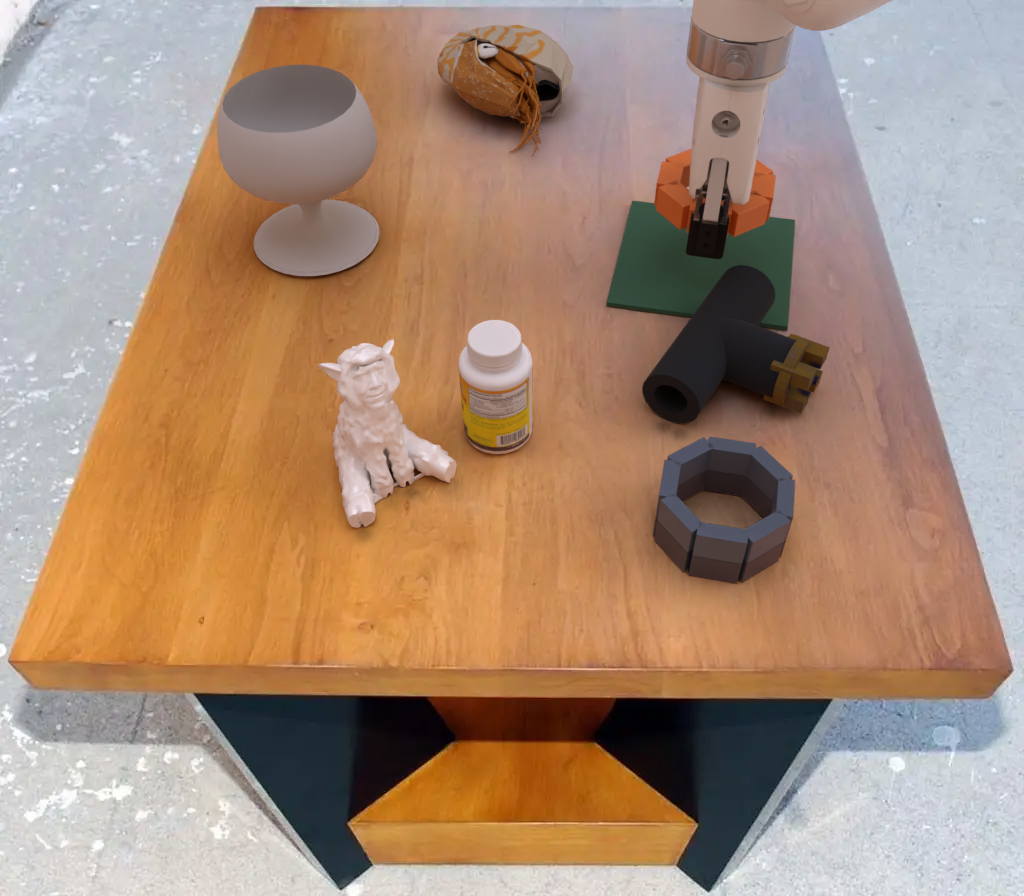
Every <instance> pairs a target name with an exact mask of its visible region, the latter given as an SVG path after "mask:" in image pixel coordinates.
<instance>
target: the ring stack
mask: <svg viewBox="0 0 1024 896" xmlns="http://www.w3.org/2000/svg"><path fill="white" fill-rule="evenodd" d="M793 477H794V475H793V474H792V473H791V472H790V471H789V470H788V469H787V468H786V467H785V466H783V465H782V464H781V463H780V461H778V460H777V459H776V458H775V457H773V456H772V454H771V453H770V452H768V451H767V450H766V449H765V448H764V447H763V446H762V445H759V446H758V447H757V444H756V442H750V441H749V442H748V441H743V440H736V439H729V438H723V437H717V436H709V437H708V439H707V438H706V437H702V438H699V439H698V440H696V441H694V442H692V443H690V444H688V445H686V446H683V447H682V448H680V449H678V450H677V451H674V452H673V453H671V454H669V455H667V458H666V459H664V461H663V467H662V473H661V480H660V486H659V492H658V498H657V505H656V511H655V516H654V524H653V531H652V537H654V542H655V543H656V544H657V546H659V547H660V549H661V550H662V551H663V552H664V553H665V554H666V555H667V556H668V558H669V559H671V561H672V562H673V563H674V564H675V565H676V567H678V569H679V570H680V571H681V572H682V573H685V572H687V571H688V576H690V577H698V578H703V579H708V580H714V581H720V582H724V583H725V582H726V583H731V584H737V583H738V580H739V581H740V582H741V583H744V582H746V581H747V580H749V579H750V578H752V577H754V576H755V575H757V574H759V573H761V572H762V571H765V570H766V569H767V568H769V567H771V566H772V565H774V564H776V563H778V562H779V559H780V558H781V557H782V555H783V551H784V548H785V545H786V542H787V539H788V535H789V533H790V529H791V525H792V523H793V520H794V516H795V515H794V514H795V512H794V511H795V495H796V494H795V491H796V480H795V479H793ZM703 491H707V492H713V493H718V494H725V495H731V496H738V497H741V498H742V499H743V500H744V501H745V502H746V503H747V504H748V505H749V506H750V507H751V508H752V509H754V511H755V512H756V513H758V514H759V516H760V517H761V519H759V520H758V521H756V522H755V523H753V524H751V525H749V526H748V527H746V528H740V527H734V526H727V525H722V524H716V523H709V522H704V521H701V519H700V518H699V517H698V516H697V515H696V514H695V513H694V512H693V510H691V509H690V507H688V506H687V505H686V504H685V503H684V501H686V500H688V499H689V498H691V497H694V496H695V495H697V494H699V493H702V492H703Z"/></svg>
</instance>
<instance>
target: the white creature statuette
mask: <svg viewBox="0 0 1024 896" xmlns="http://www.w3.org/2000/svg"><path fill="white" fill-rule="evenodd" d="M394 345H395V340H394V338H392V339H389V340H388V341H386V342H385V343H384V344H383V346H382V347H380V346H377V345H375V344H374V343H370V342H361V343H359V344H358V345H352V346H351V348H347V349H344V351H342V353H341V354H340V355H338V357H337V360H336V363H335V362H321V363H318V364H317V367H318V368H319V369H320V370H321V371H323V373H325V374H326V375H327V377H329V378H331V379H332V380H333V381H336V393H337V394H338V395H339V397H340V398H341V399H343V400H342V402H341V403H340V405H339V408H338V412H339V413H338V414H337V416H336V419H337V423H336V425H335V429H334V431H333V432H332V440H333V443H332V447H333V450H334V451H333V457H334V460H335V466H336V467H337V468H338V471H337V472H338V482H339V485H340V487H341V490H342V492H341V493H340V495H341V497H342V508H343V509H344V513H345V517H346V520H347V523H348V524H349V526H350V527H352V528H355V529H358V528H361V527H362V526H363V527H365V528H366V527H368V526H369V525H371V524H373V523H374V522H375V521H376V517H377V509H376V506H375V504H377V503H378V502H380V501H381V500H382V499H386V498H387V497H388V495H389V494H390V495H393V494H394V488H395V487H397V486H400V487H401V488H407V487H406V486H407V482H408V484H409V485H410V486H411V485H413V483H415V481H417V480H419V479H421V478H423V477H425V476H428V477H429V476H432V477H434V478H437V479H438V480H440V481H441V482H442V481H443V482H446V483H448V484H450V483H451V479H454V478H455V475H456V472H457V468H458V467H457V466H458V465H457V461H456V460H455V458H453V457H452V456H450V455H449V453H448V451H447V450H445V449H443V448H442V446H441V445H440V444H434V443H432V442H431V441H429V440H427V439H426V438H422V437H419V436H417V435H416V433H415V432H414V431H412V430H410V429H409V428H408V425H407V424H405V423H404V422H403V419H404V418H403V417H404V416H403V414H402V412H400V409H399V406H398V404H396V403H395V400H394V393H395V391H396V390H397V389H398V387H399V385H400V383H401V378H400V376H399V374H398V372H397V370H396V368H395V367H396V366H395V359H394V356H393V355H392V354H391V353H392V349H393V347H394ZM390 470H391V472H392V474H391V472H390ZM415 470H417V471H418V472H420V473H419V474H417V475H415ZM392 476H393V477H392ZM393 478H394V479H393ZM394 480H395V482H394Z"/></svg>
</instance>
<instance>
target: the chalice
mask: <svg viewBox="0 0 1024 896" xmlns="http://www.w3.org/2000/svg"><path fill="white" fill-rule="evenodd" d="M216 122H217V123H216V137H217V148H218V156H219V160H220V162H221V165H222V167H223V169H224V171H225V173H226V174H227V176H228V177H229V178H230V180H231V181H233V183H234V184H236V186H237V187H239V188H240V189H242V191H243V190H244V192H246V193H248V194H249V195H251V196H253V197H254V198H258V199H261V200H264V201H267V202H273V203H277V204H282V205H289V206H287V207H283V208H282V209H280V210H278V211H276V212H274V213H273V214H271V215H270V216H269V217H268V218H267V219H266V220H264V221H263V222H262V224H260V226H259V227H258V229H257V230H256V231H255V235H254V238H253V249H254V252H255V254H256V257H257V258H258V259H259V260H260V261H261V262H262V264H264V265H265V266H266V267H268V268H270V269H271V270H274V271H276V272H279V273H282V274H285V275H291V276H295V277H317V276H325V275H331V274H333V273H338V272H341V271H344V270H347V269H348V268H351V267H353V266H356V265H357V264H358V263H360V262H361V261H363V260H364V259H366V258H367V257H368V256H369V255H370V254H371V253H372V252H373V251H374V249H375V248H376V246H377V245H378V243H379V238H380V234H381V232H380V225H379V224H378V222H377V219H376V218H375V216H373V215H372V214H371V212H369V211H368V210H366V209H364V208H363V207H361V206H359V205H357V204H354V203H351V202H348V201H344V200H337V199H330V198H334V197H336V196H338V195H340V194H342V193H343V192H345V191H347V190H349V189H351V188H352V187H354V186H355V185H356V184H357V183H358V182H360V180H362V179H363V178H364V176H365V175H366V174H367V172H368V171H369V169H370V168H371V166H372V164H373V163H374V160H375V157H376V154H377V149H378V133H377V129H376V125H375V122H374V119H373V114H372V112H371V110H370V107H369V105H368V102H367V101H366V98H365V96H364V95H363V94H362V92H361V91H360V89H359V88H358V86H357V85H356V84H355V83H354V82H353V80H352V79H350V77H349V76H347V75H345V74H343V73H342V72H340V71H338V70H336V69H333V68H330V67H326V66H321V65H315V64H287V65H279V66H274V67H273V66H272V67H270V68H266V69H262V70H258V71H257V72H254V73H251V74H249V75H247V76H246V77H243V78H242V79H240V80H238V81H237V82H236V83H235V84H233V85H232V86H231V87H230V88H229V89H228V90H227V92H226V93H225V94H224V96H223V99H222V101H221V105H220V108H219V111H218V115H217V121H216Z"/></svg>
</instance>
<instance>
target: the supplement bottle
mask: <svg viewBox="0 0 1024 896" xmlns="http://www.w3.org/2000/svg"><path fill="white" fill-rule="evenodd" d="M466 341H467V343H466V344H467V345H466V346H464V348H463V349H462V351H461V352H460V354H459V357H458V364H457V365H458V377H459V389H460V399H461V401H460V402H461V414H462V426H463V432H464V435H465V437H466V440H467V441H468V442H469V443H470V445H472V446H473V447H474V448H475V449H477V450H479V451H481V452H483V453H487V454H490V455H505V454H509V453H512V452H514V451H517V450H519V449H520V448H522V447H523V446H524V445H525V444H526V443H527V442H528V441H529V439H530V438H531V435H532V433H533V428H534V427H533V426H534V409H533V408H534V398H533V395H534V388H533V387H534V386H533V385H534V384H533V383H534V380H533V379H534V378H533V377H534V373H533V371H534V367H533V366H534V363H533V357H532V356H533V355H532V354H531V351H530V350H529V348H528V347H527V345H526V344H524V343H523V342H522V341H523V340H522V334H521V331H520V330H519V329H518V327H517V326H515V325H514V324H513V323H511V322H509V321H506V320H502V319H488V320H484V321H482V322H479V323H477V324H475V325H474V326H473V327H472V328H471V329H470V330H469V332H468V334H467V339H466Z"/></svg>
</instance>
